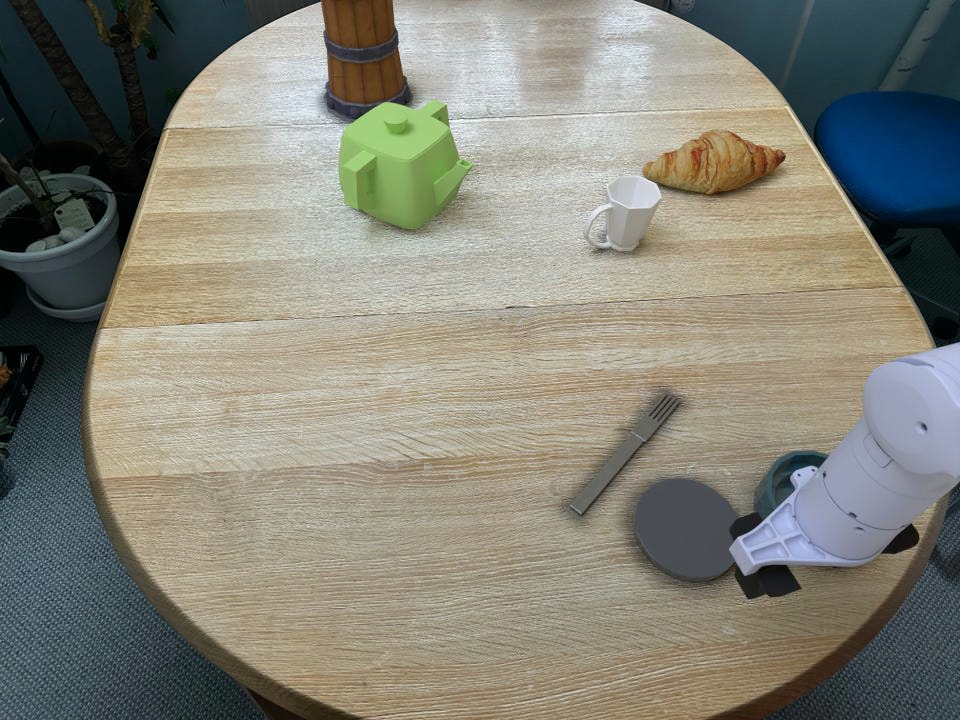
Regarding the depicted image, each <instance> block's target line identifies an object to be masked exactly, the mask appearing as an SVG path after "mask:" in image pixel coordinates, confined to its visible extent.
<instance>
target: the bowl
mask: <svg viewBox="0 0 960 720" xmlns="http://www.w3.org/2000/svg"><path fill="white" fill-rule="evenodd" d="M829 455H830V454H828V453H825V452H821V451H817V450H814V449H810V450H809V449H808V450H807V449H806V450H793V451H790V452H788V453H786V454H784V455H781V456H780V457H778V458H776V459H775V460H774V462H773V464H772V465H771V467H770V468H769V469H768V471H766V473H765V474H764V476H763V478H762V479H761V480H760V482H759V484H758V485H757V486H756V488H755V491H754V493H755V494H754V503H753V504H754V505H753V508H754V510H755V512H758V513H759V515H760V516H761V518H762V519H763V521H764V520H765V519H766V518H767V517H768V516H769V515H770V514H771V513H772V512H773V511H774V510H775V509H777V508H778V507H779V506H780V505H781V504H782V503H783V502H784V501H785V500H786V499H787V498H788V497H789V496H790V495H791V494H792V493H793V492H794V491H795V487H794V485H793V484H792V482H791V480H790V477H791V475H792V474H793V473H794V472H795V471H796V470H799V469H802V468H805V467H808V466H814V467H817V468H818V469H819V468H820V466H821V465H822V464H823V463H824V462H825V460H826V459H827V458H828V456H829Z"/></svg>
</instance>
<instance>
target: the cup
mask: <svg viewBox="0 0 960 720" xmlns="http://www.w3.org/2000/svg"><path fill="white" fill-rule="evenodd" d="M662 199H663V196H662V193H661V191H660V189H659V186H658V183H657V182H654V181H653V180H651V179H648V178H646V177H644V176H641V175H639V174H635V175H633V174H632V175H617V176H616V177H615V178H613V179H612V180H611V181H610V182H608V184H607V185H606V186H605V204H603V205H600V206H598V207H597V208H595V209H594V210H593V211H592V212H591V213H590V215H589V217H588V218H587V220H586V222H585V224H584V229H583V233H582V234H583V238H584V240H585V241H586V242H587V243H588V244H590V245H591V246H593V247H595V248H599V249H609V248H611V249H613V250H615V251H617V252H632V251H634V249H635V248H637V246H639V244H640V240H641V238H642V237H643V235H644V234H645V233H646V231H647V230H648V228H649V226H650V224H651V222H652V220H653V217H654V216H655V214H656V211H657V210H658V208H659V206H660V203H661V201H662ZM602 213H604V218H605V228H606V233H607V234H606V236H605V240H606V242H597V241H596V240H595V241H594V240H592V239H590V236H589V234H590V231H591V228H592V226H593V224H594V222H595V220H596V219H597V218H598V217H599V216H600V215H601V214H602Z"/></svg>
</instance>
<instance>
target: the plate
mask: <svg viewBox="0 0 960 720" xmlns="http://www.w3.org/2000/svg"><path fill="white" fill-rule="evenodd" d="M738 518H739V517H738V515H737V512H736V511H735V509H734V508H733V506H732V504H730V503H729V502H728V500H727V499H726V498H725V497H724V496H723V495H722V494H720V492H718V491H717V490H715V489H713V488H712V487H710V486H708V485H706V484H705V483H703V482H699V481H697V480H693V479H689V478H680V477H679V478H678V477H677V478H668V479H664V480H661V481H659V482H655V483H654V484H652V485H651V486H650V487H648V488H647V489H646V490H645V491H644V492H643V493H642V494H641V496H640V497H639V499H638V501H637V504H636V506H635V507H634V511H633V517H632V530H633V534H634V535H633V536H634V538H635V541H636V543H637V545H638V547H639V549H640V551H641V552H642V554H643V555H644V556H645V558H646V559H647V560H648V561H649V562H650V563H651V564H652V565H653V566H654V567H655V568H657V569H658V570H659V571H660V572H663V573H664V574H666V575H668V576H670V577H671V578H675V579H678V580H681V581H685V582H691V583H696V582H698V583H701V582H707V581H711V580H715V579H716V578H719V577H721V576H723V575H724V574H726V572H728V571H729V570H730V568H731V567H732V566H733V565H734V564H735V563H736V561H735V559H734V557H733V556H732V554H731V552H730V551H729V548H730V547H731V545H732V544H733V543H734V542H733V539H732V537H731V534H730V532H729V529H730V527H731V525H732V524H733V522H734V521H735V520H736V519H738Z"/></svg>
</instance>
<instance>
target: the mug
mask: <svg viewBox="0 0 960 720" xmlns="http://www.w3.org/2000/svg"><path fill="white" fill-rule="evenodd" d="M320 5H321V11H322V18H323V23H324V24H323V25H324V31H323V32H322V35H323V41H324V45H325V48H326V62H327V63H326V64H327V78H328V80H327V81H326V82H325V85H324V88H325V90H326V92H325V94H323V101H324V104H325V107H326V109H327V112H328V113H330V114H331V115H333V116H335V117H337V118H338V119H340V120H342V121H343V122H349V123H353V122H354V121H356V120H357V119H359V118H360V117H361V116H363V115H364V114H366V113H367V112H369V111H370V110H372V109H373V108H375V107H377V106H379V105H380V104H382V103H385V102H390V103H395V104H399V105H403V106H406V107H409V108H410V105H411V103H412V101H413V99H414V95H413V93H412V91H411V89H410V87H409V82H408V78H407V76H406V75H404V71H403V65H402V60H401V54H400V49H399V45H400V39H399V30H398V29H397V26H396V23H395V14H394V13H395V11H394V0H320Z"/></svg>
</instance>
